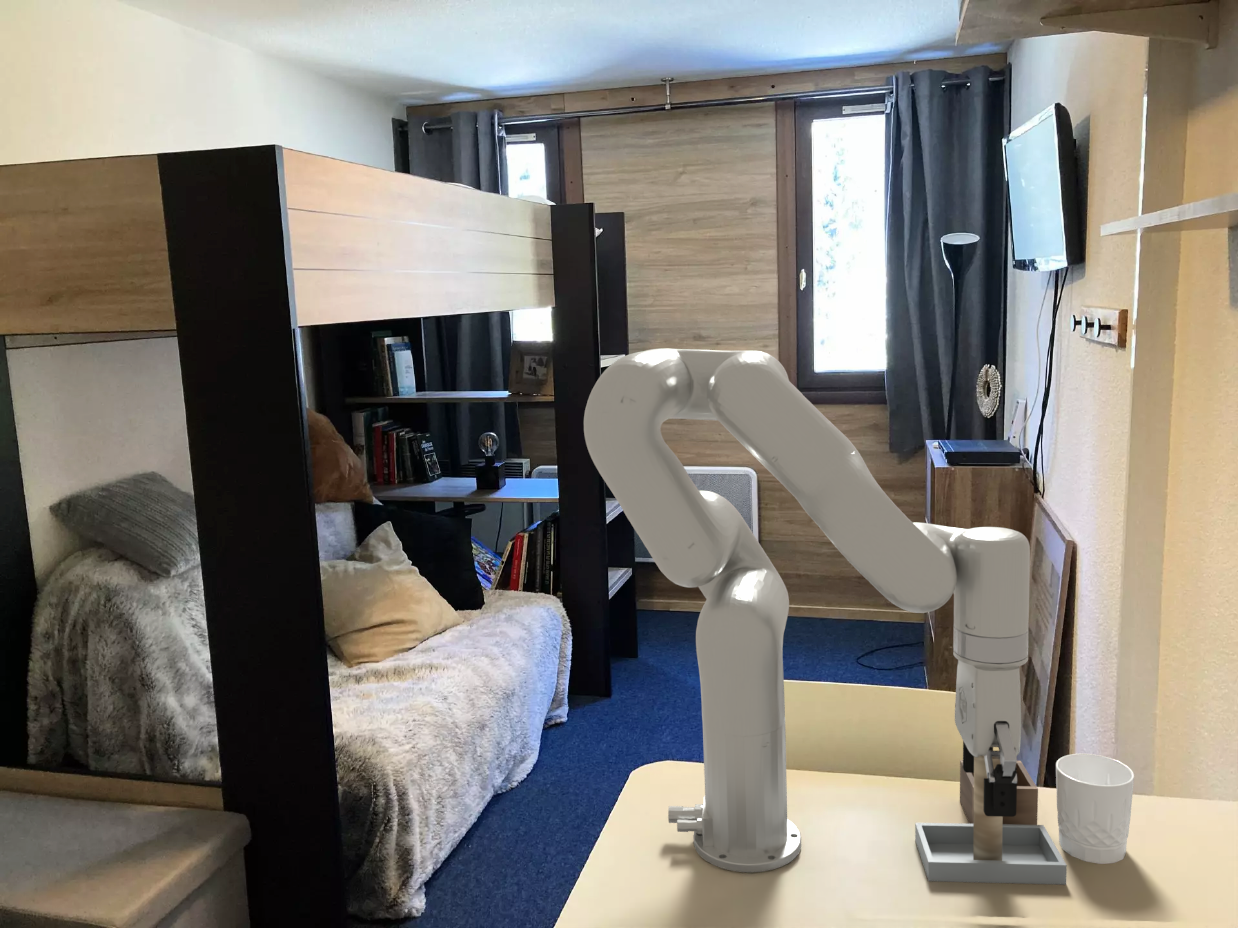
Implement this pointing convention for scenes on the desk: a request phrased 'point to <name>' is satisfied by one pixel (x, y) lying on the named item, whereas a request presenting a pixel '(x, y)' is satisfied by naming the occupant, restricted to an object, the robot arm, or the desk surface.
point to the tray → (1022, 860)
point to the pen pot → (1025, 797)
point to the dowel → (985, 819)
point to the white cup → (1093, 806)
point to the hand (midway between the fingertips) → (988, 792)
